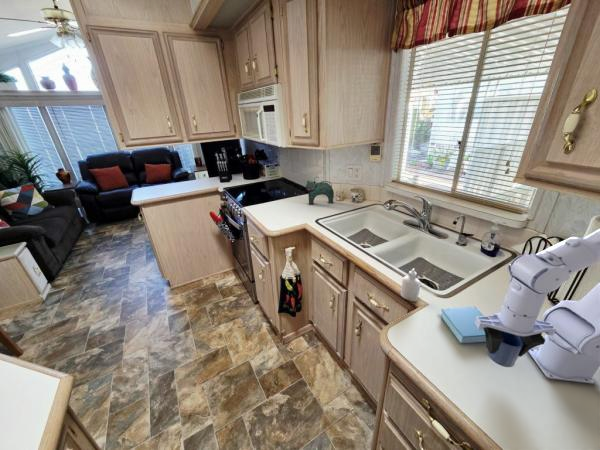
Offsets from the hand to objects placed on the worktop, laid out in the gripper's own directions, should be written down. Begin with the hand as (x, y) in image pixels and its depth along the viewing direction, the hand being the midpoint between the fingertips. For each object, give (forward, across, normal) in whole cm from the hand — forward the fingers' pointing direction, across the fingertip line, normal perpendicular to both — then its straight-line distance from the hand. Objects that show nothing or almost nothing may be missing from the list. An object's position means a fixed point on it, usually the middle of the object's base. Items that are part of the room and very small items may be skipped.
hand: (503, 351), depth 59 cm
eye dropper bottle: (+8, +15, -26) cm, 31 cm away
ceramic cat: (+8, +57, -124) cm, 137 cm away
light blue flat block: (+7, +1, -14) cm, 16 cm away
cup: (+2, 0, 0) cm, 2 cm away
